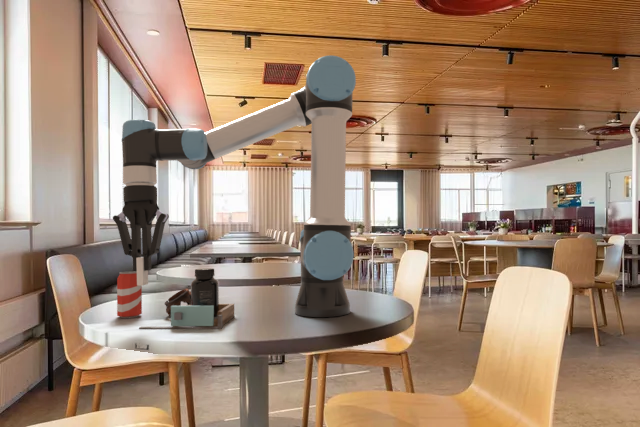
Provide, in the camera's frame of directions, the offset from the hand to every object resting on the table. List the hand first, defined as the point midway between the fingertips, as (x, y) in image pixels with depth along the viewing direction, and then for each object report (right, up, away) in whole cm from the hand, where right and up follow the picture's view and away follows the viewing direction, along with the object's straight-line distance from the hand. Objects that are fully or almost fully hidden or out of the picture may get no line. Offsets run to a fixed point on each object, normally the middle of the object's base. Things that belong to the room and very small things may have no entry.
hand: (142, 284), depth 108 cm
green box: (+12, -10, -1) cm, 16 cm away
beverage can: (-9, -11, +15) cm, 21 cm away
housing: (+10, -10, +6) cm, 15 cm away
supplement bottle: (+13, -9, +7) cm, 18 cm away
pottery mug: (+6, -11, +17) cm, 21 cm away
